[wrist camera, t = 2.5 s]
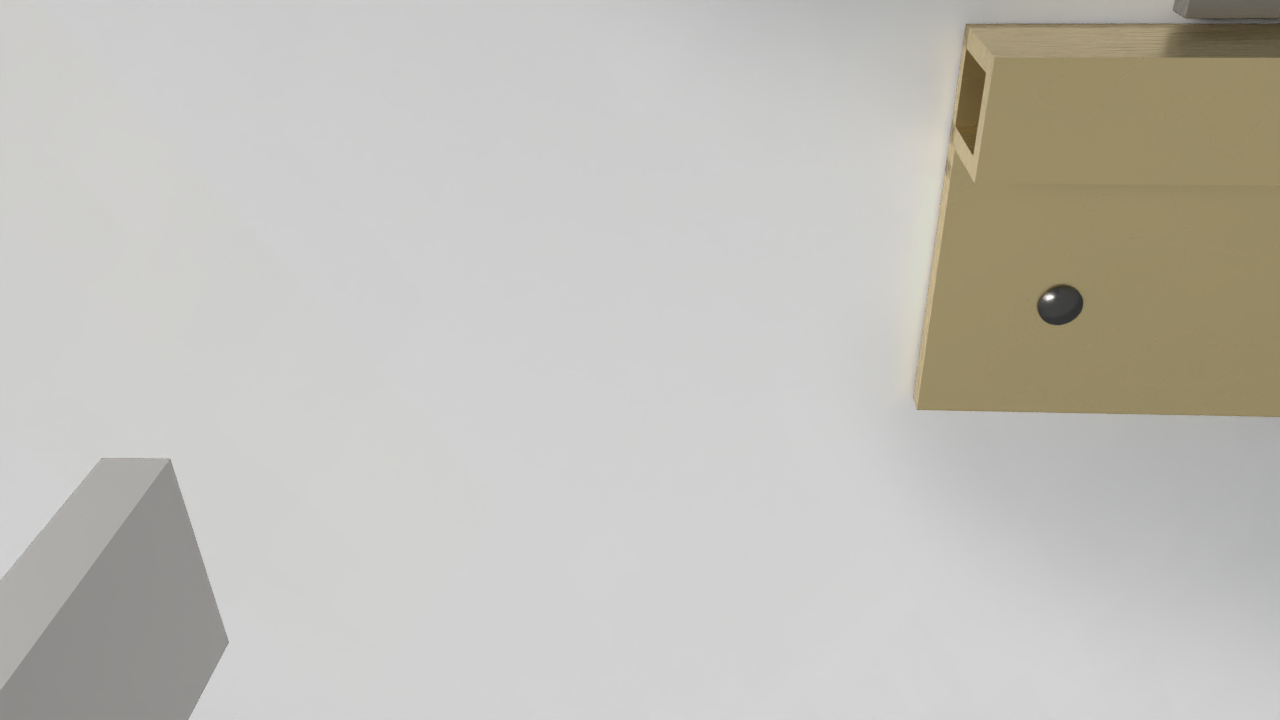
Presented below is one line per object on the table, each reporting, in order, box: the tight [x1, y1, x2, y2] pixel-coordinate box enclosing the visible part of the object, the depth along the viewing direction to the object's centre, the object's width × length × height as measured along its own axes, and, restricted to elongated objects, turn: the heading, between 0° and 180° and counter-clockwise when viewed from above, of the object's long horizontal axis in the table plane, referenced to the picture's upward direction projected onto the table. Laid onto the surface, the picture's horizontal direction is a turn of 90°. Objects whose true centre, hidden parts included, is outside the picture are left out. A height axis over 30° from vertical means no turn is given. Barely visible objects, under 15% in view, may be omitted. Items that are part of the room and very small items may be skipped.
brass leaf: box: [913, 24, 1280, 417], centre depth 28 cm, size 15×11×3 cm
